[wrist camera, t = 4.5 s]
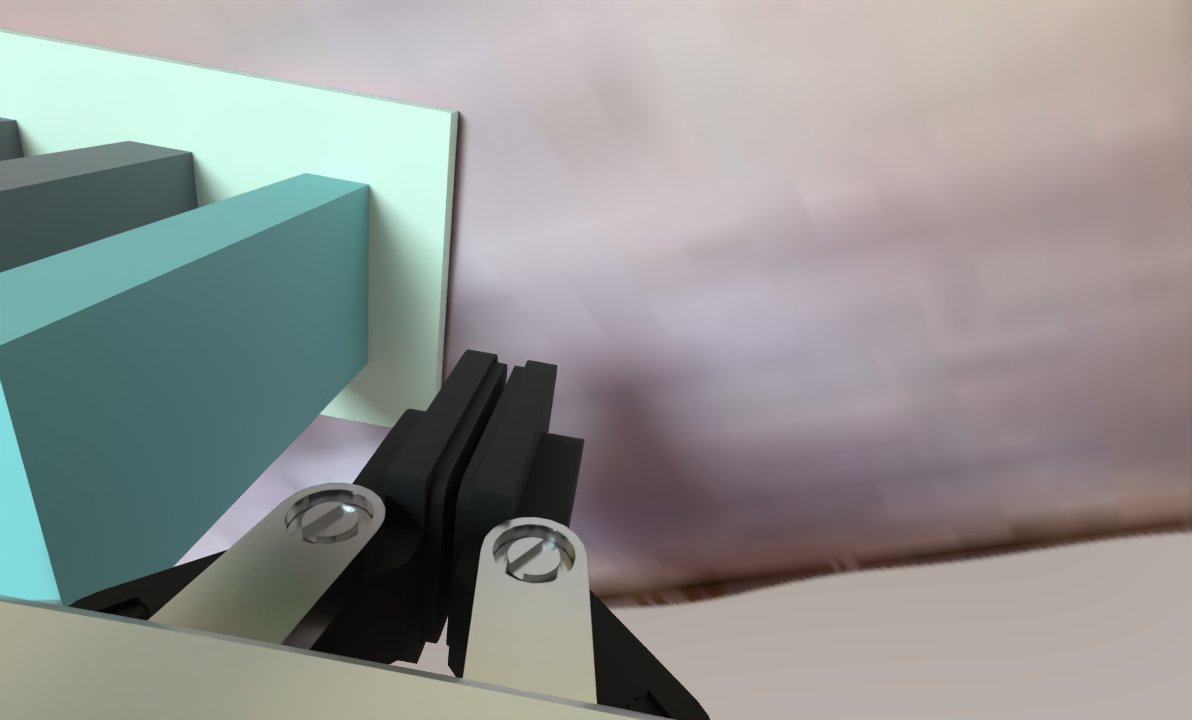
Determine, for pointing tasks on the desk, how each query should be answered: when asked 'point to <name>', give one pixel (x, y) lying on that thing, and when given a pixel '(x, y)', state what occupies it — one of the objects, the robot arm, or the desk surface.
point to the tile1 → (169, 377)
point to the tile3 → (10, 140)
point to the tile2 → (88, 197)
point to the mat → (273, 174)
